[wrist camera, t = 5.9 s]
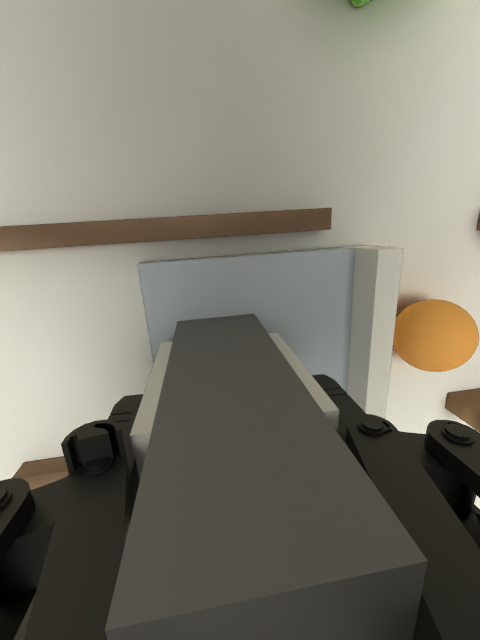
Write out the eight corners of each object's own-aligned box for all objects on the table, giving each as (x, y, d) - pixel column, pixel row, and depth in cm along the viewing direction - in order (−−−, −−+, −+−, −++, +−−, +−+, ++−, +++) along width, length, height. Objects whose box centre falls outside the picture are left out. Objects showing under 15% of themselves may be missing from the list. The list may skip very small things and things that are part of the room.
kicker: (141, 262, 14) (-185, 426, 2) (366, 245, 16) (947, 287, 4) (168, 427, 17) (96, 894, 5) (355, 401, 19) (652, 716, 7)
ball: (401, 309, 14) (502, 312, 13) (390, 292, 18) (467, 292, 16) (393, 380, 15) (484, 390, 14) (384, 351, 19) (456, 356, 18)
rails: (-59, 231, 13) (-84, 231, 12) (321, 209, 15) (331, 207, 14) (28, 476, 17) (16, 493, 16) (316, 432, 19) (323, 444, 18)
